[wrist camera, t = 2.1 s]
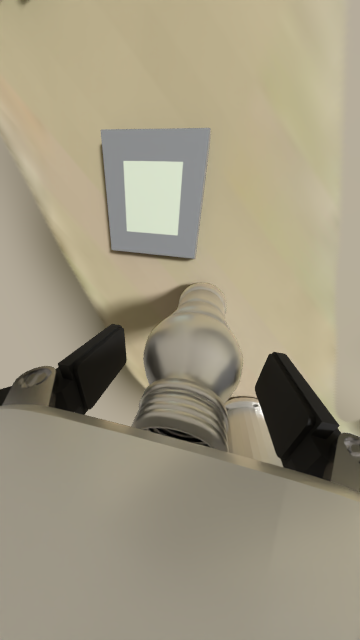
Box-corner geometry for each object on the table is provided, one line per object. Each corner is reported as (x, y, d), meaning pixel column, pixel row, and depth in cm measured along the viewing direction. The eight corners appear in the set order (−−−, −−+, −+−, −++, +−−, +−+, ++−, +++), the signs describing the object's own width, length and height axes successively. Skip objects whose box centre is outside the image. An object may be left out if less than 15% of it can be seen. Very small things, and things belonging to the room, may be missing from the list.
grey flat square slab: (195, 258, 21) (194, 258, 20) (117, 250, 22) (111, 249, 21) (210, 138, 16) (210, 128, 15) (109, 139, 18) (100, 129, 16)
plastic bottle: (209, 327, 25) (208, 520, 7) (175, 306, 24) (74, 450, 6) (233, 294, 22) (344, 474, 4) (194, 271, 22) (115, 346, 4)
